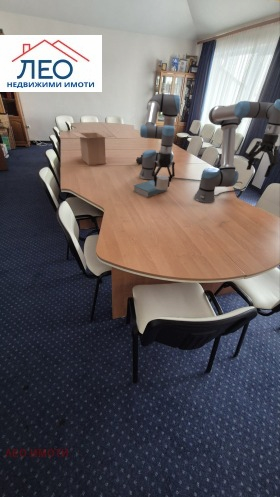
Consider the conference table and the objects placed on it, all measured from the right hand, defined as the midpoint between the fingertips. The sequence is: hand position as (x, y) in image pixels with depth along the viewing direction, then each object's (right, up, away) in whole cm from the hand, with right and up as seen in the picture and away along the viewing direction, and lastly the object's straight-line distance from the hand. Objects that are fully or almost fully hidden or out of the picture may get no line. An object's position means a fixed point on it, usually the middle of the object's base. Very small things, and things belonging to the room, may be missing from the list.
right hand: (256, 173), depth 132 cm
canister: (-55, -1, +27) cm, 61 cm away
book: (-62, +1, +46) cm, 77 cm away
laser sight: (-64, +46, +108) cm, 133 cm away
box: (-120, +48, +105) cm, 167 cm away
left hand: (-55, 0, +26) cm, 60 cm away
